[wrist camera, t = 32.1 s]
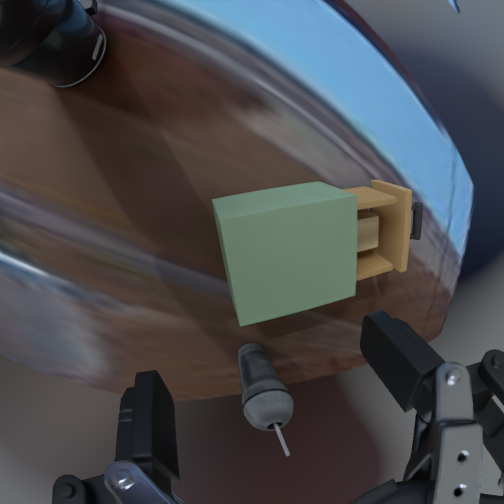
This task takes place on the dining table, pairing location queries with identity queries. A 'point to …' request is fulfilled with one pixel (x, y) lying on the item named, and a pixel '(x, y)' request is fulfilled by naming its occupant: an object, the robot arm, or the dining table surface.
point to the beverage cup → (263, 391)
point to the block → (367, 230)
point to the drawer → (388, 227)
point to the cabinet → (287, 248)
